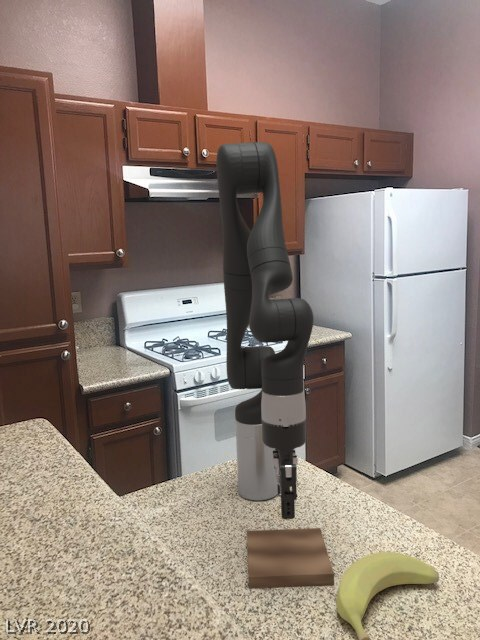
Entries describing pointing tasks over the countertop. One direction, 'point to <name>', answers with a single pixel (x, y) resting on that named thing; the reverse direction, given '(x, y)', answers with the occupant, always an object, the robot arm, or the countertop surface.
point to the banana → (377, 582)
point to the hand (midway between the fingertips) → (285, 506)
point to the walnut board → (288, 558)
